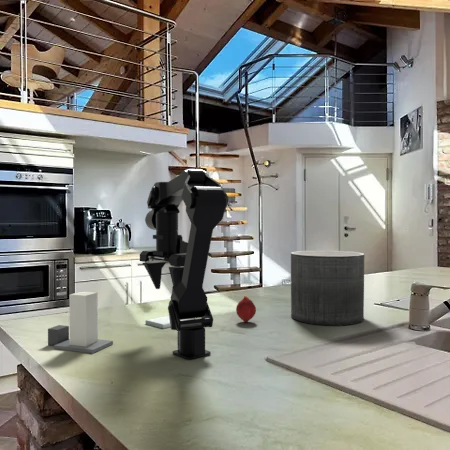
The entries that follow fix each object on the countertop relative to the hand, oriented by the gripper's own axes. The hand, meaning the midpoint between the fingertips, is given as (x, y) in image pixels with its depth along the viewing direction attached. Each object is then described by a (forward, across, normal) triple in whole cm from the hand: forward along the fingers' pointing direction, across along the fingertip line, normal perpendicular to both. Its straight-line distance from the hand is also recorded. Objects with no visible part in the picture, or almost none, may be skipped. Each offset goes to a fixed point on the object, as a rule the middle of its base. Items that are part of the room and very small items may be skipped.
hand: (167, 291), depth 118 cm
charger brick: (+11, +6, +20) cm, 24 cm away
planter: (+12, -13, -50) cm, 53 cm away
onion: (+12, -1, -27) cm, 30 cm away
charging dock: (+12, +8, +21) cm, 25 cm away
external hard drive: (+13, +13, -10) cm, 21 cm away
